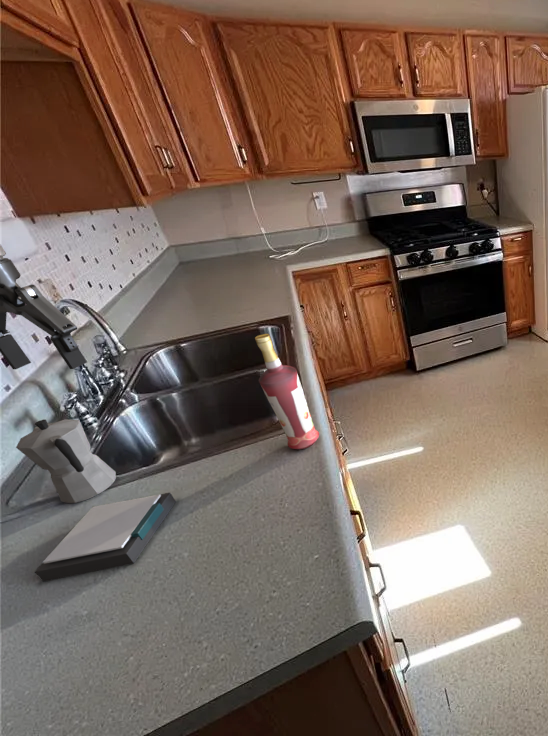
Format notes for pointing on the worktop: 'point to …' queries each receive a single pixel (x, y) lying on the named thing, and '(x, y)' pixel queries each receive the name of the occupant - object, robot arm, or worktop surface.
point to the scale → (107, 537)
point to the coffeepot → (67, 459)
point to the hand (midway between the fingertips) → (50, 366)
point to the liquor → (286, 397)
